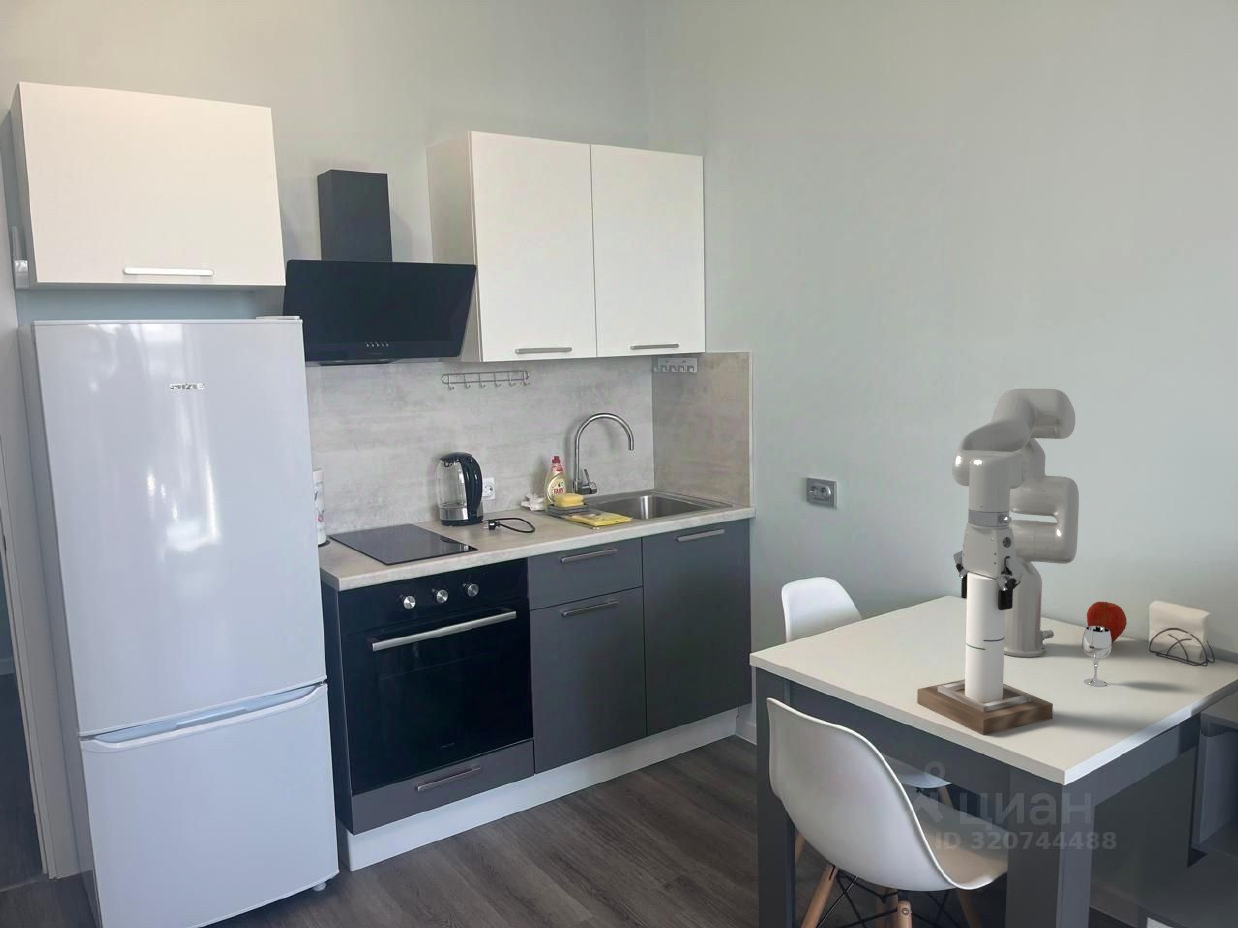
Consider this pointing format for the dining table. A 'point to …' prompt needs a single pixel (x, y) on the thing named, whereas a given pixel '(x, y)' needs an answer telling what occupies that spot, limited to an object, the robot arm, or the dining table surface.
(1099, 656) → the wineglass
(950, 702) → the walnut base
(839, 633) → the dining table surface
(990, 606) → the cylindrical container
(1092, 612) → the apple
